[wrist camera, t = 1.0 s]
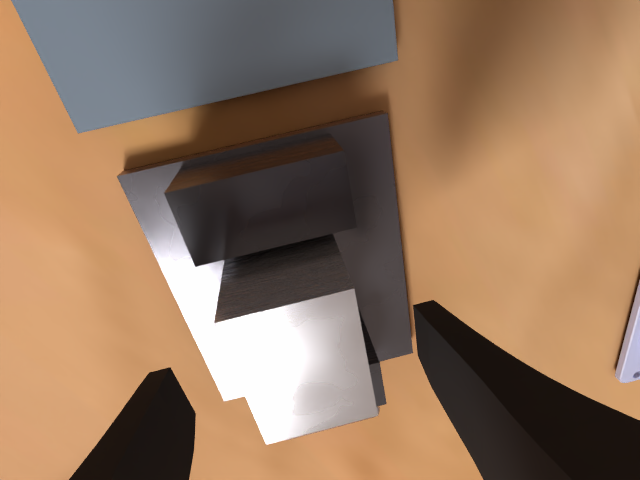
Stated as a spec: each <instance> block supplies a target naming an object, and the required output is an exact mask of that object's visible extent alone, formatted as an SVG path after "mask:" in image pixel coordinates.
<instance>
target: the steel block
mask: <svg viewBox="0 0 640 480" xmlns="http://www.w3.org/2000/svg"><path fill="white" fill-rule="evenodd" d="M214 325H215V327H216V330H217V332H218V334H219V337H220V339H221V341H222V344H223V346H224V348H225V350H226V353H227V355H228V357H229V360H230V362H231V364H232V367H233V369H234V371H235V373H236V376H237V378H238V380H239V383H240V385H241V387H242V390H243V392H244V394H245V397H246V399H247V401H248V403H249V406H250V408H251V410H252V413H253V415H254V417H255V420H256V422H257V424H258V427H259V429H260V431H261V433H262V436H263V438H264V440H265V443H266V445H267V444H271V443H275V442H279V441H282V440H286V439H290V438H294V437H298V436H302V435H305V434H309V433H313V432H317V431H321V430H324V429H328V428H332V427H336V426H340V425H344V424H347V423H351V422H355V421H359V420H363V419H366V418H370V417H374V416H378V412H377V407H376V402H375V396H374V391H373V386H372V380H371V375H370V369H369V364H368V359H367V353H366V348H365V343H364V337H363V332H362V327H361V321H360V316H359V311H358V305H357V300H356V295H355V289H354V286H353V284H352V281H351V279H350V276H349V274H348V271H347V269H346V266H345V263H344V261H343V258H342V256H341V253H340V251H339V248H338V246H337V243H336V241H335V238H334V235H333V234H329V235H325V236H321V237H317V238H312V239H308V240H304V241H300V242H296V243H292V244H288V245H284V246H280V247H275V248H271V249H267V250H263V251H259V252H255V253H251V254H247V255H243V256H238V257H234V258H230V259H226V260H224V266H223V272H222V278H221V284H220V290H219V296H218V302H217V308H216V314H215V320H214Z"/></svg>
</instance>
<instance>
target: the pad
mask: <svg viewBox="0 0 640 480" xmlns="http://www.w3.org/2000/svg"><path fill="white" fill-rule="evenodd" d="M11 1H12V3H13V5H14V6H15V8H16V10H17V12H18V14H19V16H20V18H21V20H22V22H23V24H24V26H25V28H26V30H27V32H28V34H29V36H30V38H31V40H32V42H33V44H34V46H35V48H36V50H37V52H38V54H39V56H40V58H41V60H42V62H43V64H44V66H45V68H46V70H47V72H48V74H49V76H50V78H51V80H52V82H53V84H54V86H55V88H56V90H57V92H58V94H59V96H60V98H61V100H62V102H63V104H64V106H65V108H66V110H67V112H68V114H69V116H70V118H71V120H72V122H73V124H74V126H75V128H76V130H77V132H78V133H82V132H86V131H91V130H95V129H100V128H104V127H108V126H113V125H117V124H121V123H126V122H130V121H135V120H139V119H143V118H148V117H152V116H157V115H161V114H165V113H170V112H174V111H178V110H183V109H187V108H192V107H196V106H200V105H205V104H209V103H213V102H218V101H222V100H227V99H231V98H235V97H240V96H244V95H249V94H253V93H257V92H262V91H266V90H270V89H275V88H279V87H284V86H288V85H292V84H297V83H301V82H305V81H310V80H314V79H319V78H323V77H327V76H332V75H336V74H341V73H345V72H349V71H354V70H358V69H362V68H367V67H371V66H376V65H380V64H384V63H389V62H393V61H397V60H398V54H397V43H396V31H395V19H394V8H393V0H11Z"/></svg>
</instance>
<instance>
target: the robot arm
mask: <svg viewBox="0 0 640 480" xmlns="http://www.w3.org/2000/svg"><path fill="white" fill-rule="evenodd" d="M413 309H414V319H415V330H416V340H417V351H418V357H419V359H420V361H421V364H422V366H423V369H424V371H425V373H426V375H427V378H428V380H429V382H430V385H431V387H432V389H433V390H434V392H435V394H436V396H437V398H438V399H439V401H440V403H441V405H442V406H443V408H444V410H445V412H446V413H447V415H448V417H449V419H450V420H451V422H452V424H453V426H454V427H455V429H456V431H457V432H458V434H459V436H460V438H461V439H462V441H463V443H464V445H465V446H466V448H467V450H468V452H469V453H470V455H471V457H472V459H473V460H474V462H475V464H476V466H477V468H478V470H479V472H480V474H481V476H482V477H483V480H640V420H637V419H635V418H632V417H630V416H628V415H626V414H623V413H621V412H619V411H617V410H614V409H612V408H610V407H608V406H606V405H603V404H601V403H599V402H597V401H595V400H592V399H590V398H588V397H586V396H584V395H582V394H580V393H578V392H576V391H574V390H572V389H570V388H568V387H566V386H564V385H562V384H561V383H559V382H557V381H555V380H553V379H551V378H549V377H547V376H546V375H544V374H542V373H540V372H539V371H537V370H535V369H533V368H532V367H530V366H528V365H527V364H525V363H523V362H522V361H520V360H518V359H517V358H515V357H514V356H512V355H510V354H509V353H507V352H506V351H504V350H503V349H501V348H500V347H498V346H497V345H495V344H494V343H492V342H491V341H489V340H488V339H486V338H485V337H483V336H482V335H480V334H479V333H478V332H476V331H475V330H473V329H472V328H470V327H469V326H468V325H466V324H465V323H464V322H462V321H461V320H460V319H458V318H457V317H456V316H454V315H453V314H452V313H450V312H449V311H448V310H446V309H445V308H444V307H442V306H441V305H440V304H438V303H437V302H435V301H434V300H432V301H428V302H424V303H420V304H416V305H413ZM615 377H616V378H617V379H618V380H619V381H620V382H622V383H627V382H631V381H635V380H639V379H640V281H639V285H638V288H637V292H636V296H635V300H634V304H633V308H632V311H631V315H630V319H629V323H628V327H627V330H626V334H625V338H624V342H623V346H622V350H621V353H620V357H619V361H618V365H617V369H616V372H615ZM195 417H196V413H195V411H194V410H193V408H192V406H191V404H190V402H189V401H188V399H187V397H186V395H185V393H184V391H183V390H182V388H181V386H180V384H179V382H178V380H177V379H176V377H175V375H174V373H173V371H172V370H171V368H166V369H162V370H158V371H154V372H150V373H149V374H148V375H147V376H146V378H145V379H144V380H143V382H142V383H141V384H140V386H139V387H138V388H137V390H136V391H135V393H134V394H133V395H132V397H131V398H130V400H129V401H128V402H127V404H126V405H125V407H124V408H123V409H122V411H121V412H120V414H119V415H118V416H117V418H116V419H115V420H114V422H113V423H112V425H111V426H110V427H109V429H108V430H107V431H106V433H105V434H104V435H103V437H102V438H101V439H100V441H99V442H98V444H97V445H96V446H95V447H94V449H93V450H92V451H91V453H90V454H89V455H88V456H87V458H86V459H85V460H84V461H83V463H82V464H81V465H80V466H79V468H78V469H77V470H76V472H75V473H74V474H73V475H72V477H71V478H70V479H69V480H189V476H190V470H191V464H192V458H193V452H194V439H195Z"/></svg>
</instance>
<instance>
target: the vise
mask: <svg viewBox="0 0 640 480" xmlns="http://www.w3.org/2000/svg"><path fill="white" fill-rule="evenodd" d="M117 178H118V180H119V182H120V184H121V186H122V188H123V190H124V192H125V194H126V196H127V198H128V201H129V203H130V205H131V207H132V209H133V211H134V213H135V215H136V217H137V219H138V221H139V224H140V226H141V228H142V230H143V232H144V234H145V236H146V238H147V240H148V242H149V244H150V247H151V249H152V251H153V253H154V255H155V257H156V259H157V261H158V263H159V265H160V267H161V270H162V272H163V274H164V276H165V278H166V280H167V282H168V284H169V286H170V288H171V290H172V293H173V295H174V297H175V299H176V301H177V303H178V305H179V307H180V309H181V311H182V313H183V316H184V318H185V320H186V322H187V324H188V326H189V328H190V330H191V332H192V334H193V336H194V339H195V341H196V343H197V345H198V347H199V349H200V351H201V353H202V355H203V357H204V359H205V362H206V364H207V366H208V368H209V370H210V372H211V374H212V376H213V378H214V380H215V382H216V385H217V387H218V389H219V391H220V393H221V395H222V397H223V399H224V401H228V400H232V399H236V398H239V397H243V396H245V394H244V392H243V390H242V387H241V385H240V383H239V380H238V378H237V376H236V373H235V371H234V369H233V367H232V364H231V362H230V360H229V357H228V355H227V353H226V350H225V348H224V346H223V344H222V341H221V339H220V337H219V334H218V332H217V330H216V327H215V325H214V320H215V314H216V308H217V302H218V296H219V290H220V284H221V278H222V272H223V266H224V260H226V259H230V258H234V257H238V256H243V255H247V254H251V253H255V252H259V251H263V250H267V249H271V248H275V247H280V246H284V245H288V244H292V243H296V242H300V241H304V240H308V239H312V238H317V237H321V236H325V235H329V234H333V235H334V238H335V241H336V243H337V246H338V248H339V251H340V253H341V256H342V258H343V261H344V263H345V266H346V269H347V271H348V274H349V276H350V279H351V281H352V284H353V286H354V289H355V295H356V300H357V305H358V311H359V316H360V321H361V327H362V332H363V337H364V343H365V348H366V353H367V359H368V364H369V369H370V375H371V380H372V386H373V391H374V396H375V402H376V407H377V412H378V414H379V412H380V407H379V406H380V405H384V404H386V398H385V392H384V386H383V380H382V374H381V368H380V361H384V360H387V359H391V358H395V357H399V356H403V355H407V354H411V353H413V350H412V340H411V331H410V321H409V312H408V302H407V293H406V283H405V274H404V264H403V254H402V245H401V235H400V226H399V216H398V207H397V197H396V188H395V178H394V169H393V159H392V150H391V140H390V131H389V121H388V113H386V112H384V111H379V112H374V113H370V114H366V115H361V116H357V117H353V118H348V119H344V120H340V121H336V122H331V123H327V124H323V125H318V126H314V127H310V128H306V129H301V130H297V131H293V132H288V133H284V134H280V135H275V136H271V137H267V138H263V139H258V140H254V141H250V142H245V143H241V144H237V145H233V146H228V147H224V148H220V149H215V150H211V151H207V152H202V153H198V154H194V155H190V156H185V157H181V158H177V159H172V160H168V161H164V162H159V163H155V164H151V165H147V166H142V167H138V168H134V169H129V170H125V171H122V172H121V173H120V174H119V175H118V176H117ZM374 417H376V416H374ZM370 418H373V417H370ZM366 419H369V418H366ZM366 419H363V420H366ZM359 421H362V420H359ZM355 422H358V421H355ZM351 423H354V422H351ZM347 424H350V423H347ZM344 425H346V424H344ZM340 426H343V425H340ZM336 427H339V426H336ZM332 428H335V427H332ZM328 429H331V428H328ZM324 430H327V429H324ZM324 430H321V431H324ZM317 432H320V431H317ZM313 433H316V432H313ZM309 434H312V433H309ZM305 435H308V434H305ZM302 436H304V435H302ZM298 437H301V436H298ZM294 438H297V437H294ZM290 439H293V438H290ZM286 440H289V439H286Z"/></svg>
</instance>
